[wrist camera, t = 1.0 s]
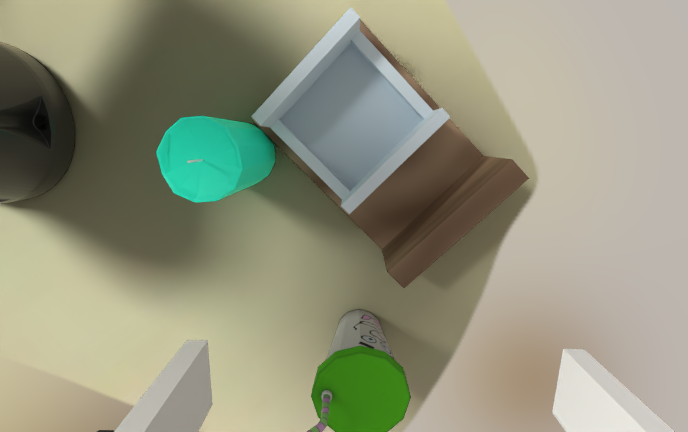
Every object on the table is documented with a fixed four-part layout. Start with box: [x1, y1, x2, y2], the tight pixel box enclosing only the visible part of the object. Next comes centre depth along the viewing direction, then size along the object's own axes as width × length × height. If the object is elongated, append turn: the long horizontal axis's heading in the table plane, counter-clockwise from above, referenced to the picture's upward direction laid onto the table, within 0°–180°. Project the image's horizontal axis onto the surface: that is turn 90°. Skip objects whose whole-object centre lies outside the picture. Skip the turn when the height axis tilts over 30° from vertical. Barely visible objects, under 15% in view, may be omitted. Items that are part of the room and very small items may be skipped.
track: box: [252, 21, 529, 288], centre depth 30 cm, size 20×13×7 cm, turn 45°
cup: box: [307, 309, 411, 432], centre depth 31 cm, size 8×8×15 cm
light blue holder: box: [251, 7, 450, 214], centre depth 30 cm, size 11×11×5 cm
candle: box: [156, 116, 276, 203], centre depth 29 cm, size 6×6×12 cm
